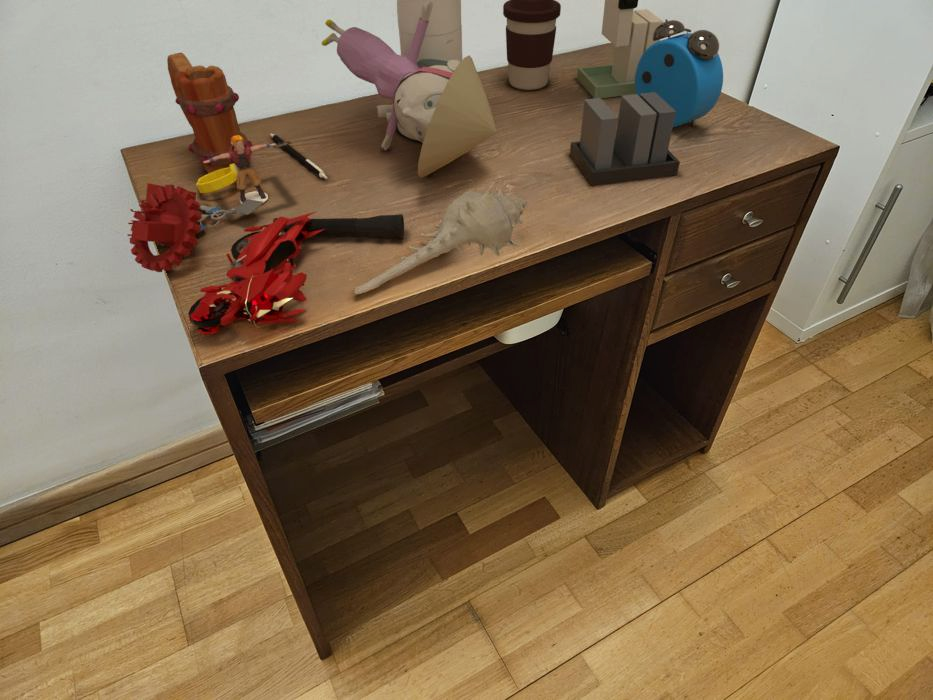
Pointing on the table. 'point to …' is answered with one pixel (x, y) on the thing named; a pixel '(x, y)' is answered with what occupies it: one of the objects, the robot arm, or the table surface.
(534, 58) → the coffee cup
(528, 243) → the table surface
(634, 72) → the white books
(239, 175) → the action figure
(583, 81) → the green tray
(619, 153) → the grey books
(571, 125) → the table surface
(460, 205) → the seashell
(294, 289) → the toy motorcycle
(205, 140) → the mug
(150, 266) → the red toothed ring
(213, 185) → the yellow curved hollow piece
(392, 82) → the figurine
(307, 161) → the pen
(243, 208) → the key chain
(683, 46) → the alarm clock
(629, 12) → the white box
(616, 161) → the grey tray
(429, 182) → the table surface
